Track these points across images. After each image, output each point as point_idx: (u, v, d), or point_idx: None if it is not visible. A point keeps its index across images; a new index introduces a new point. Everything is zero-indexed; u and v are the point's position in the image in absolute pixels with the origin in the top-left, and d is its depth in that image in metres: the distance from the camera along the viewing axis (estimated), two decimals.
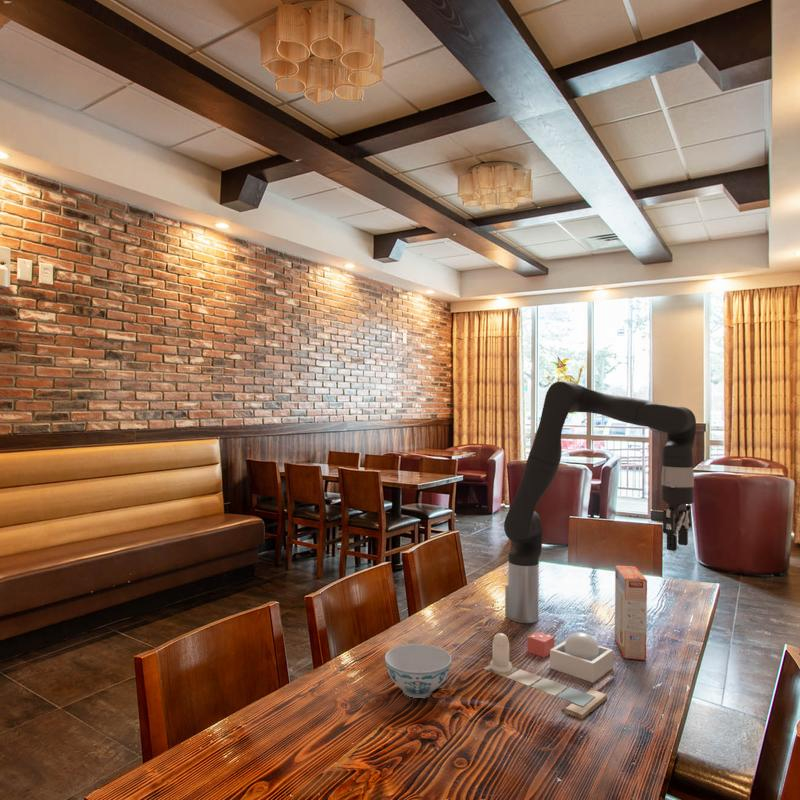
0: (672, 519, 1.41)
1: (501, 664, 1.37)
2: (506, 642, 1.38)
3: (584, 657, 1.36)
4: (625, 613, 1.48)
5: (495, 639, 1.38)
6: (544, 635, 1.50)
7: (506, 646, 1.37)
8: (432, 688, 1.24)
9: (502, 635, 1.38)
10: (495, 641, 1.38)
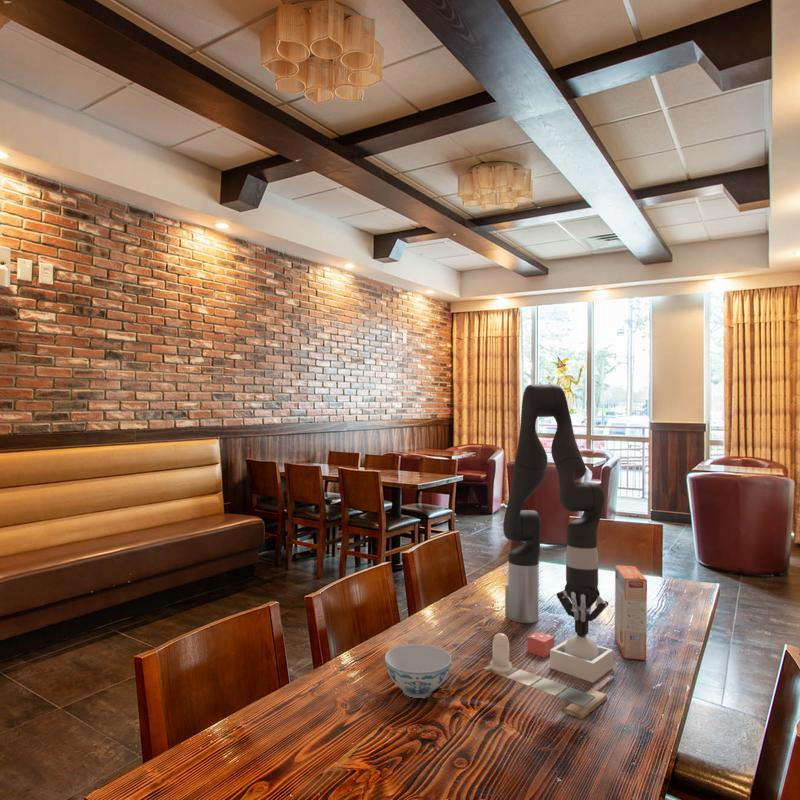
0: None
1: (501, 664, 1.37)
2: (506, 642, 1.38)
3: None
4: (625, 613, 1.48)
5: (495, 639, 1.38)
6: (544, 635, 1.50)
7: (506, 646, 1.37)
8: (432, 688, 1.24)
9: (502, 635, 1.38)
10: (495, 641, 1.38)
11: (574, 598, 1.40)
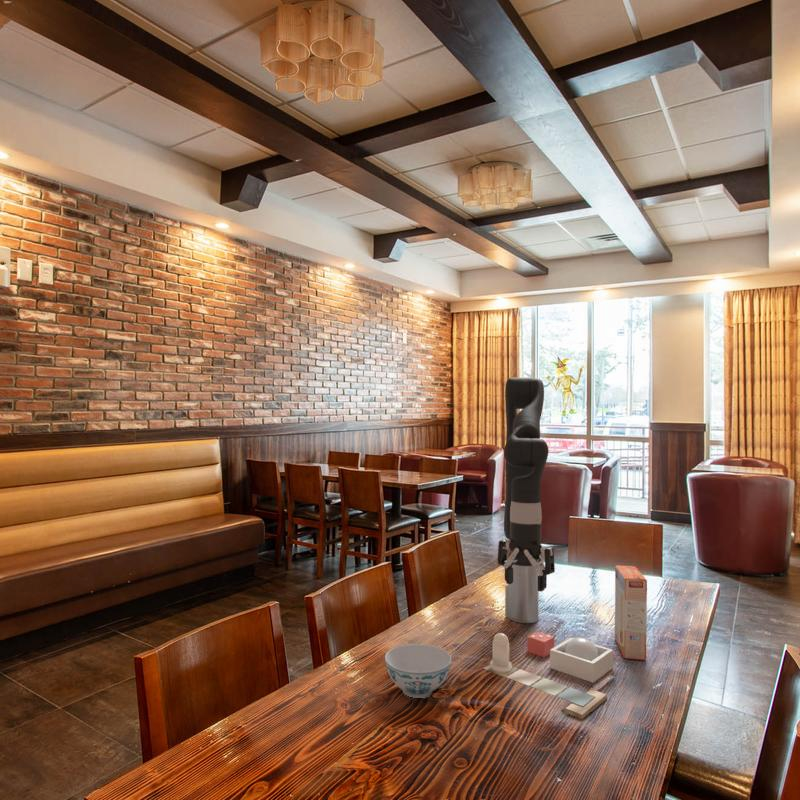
0: (553, 557, 1.36)
1: (501, 664, 1.37)
2: (506, 642, 1.38)
3: None
4: (625, 613, 1.48)
5: (495, 639, 1.38)
6: (544, 635, 1.50)
7: (506, 646, 1.37)
8: (432, 688, 1.24)
9: (502, 635, 1.38)
10: (495, 641, 1.38)
11: (515, 553, 1.39)
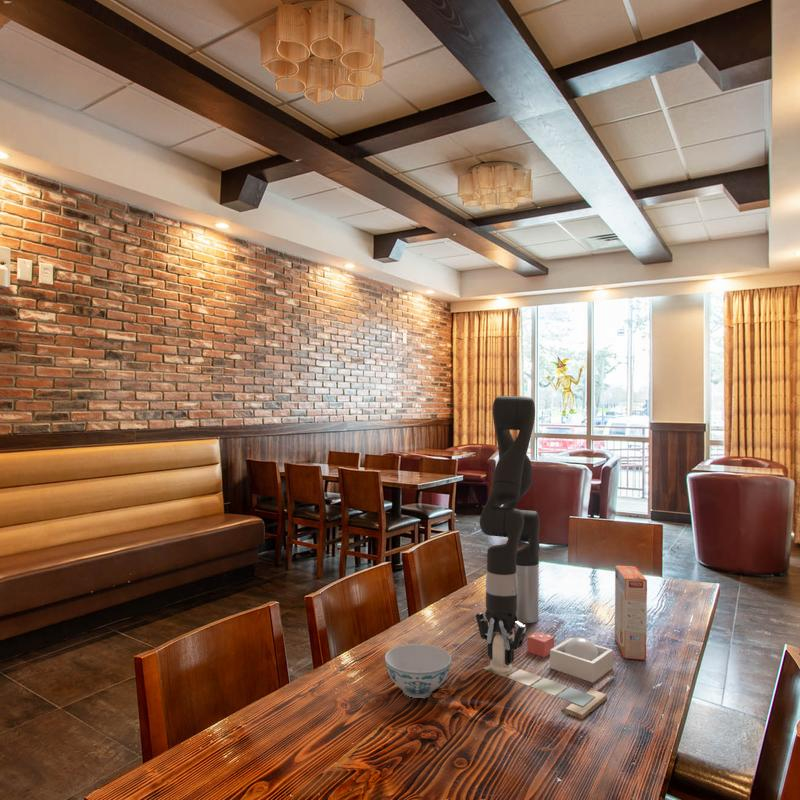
0: (524, 634, 1.36)
1: (501, 664, 1.37)
2: None
3: None
4: (625, 613, 1.48)
5: (495, 639, 1.38)
6: (544, 635, 1.50)
7: None
8: (432, 688, 1.24)
9: None
10: (495, 641, 1.38)
11: (492, 624, 1.39)
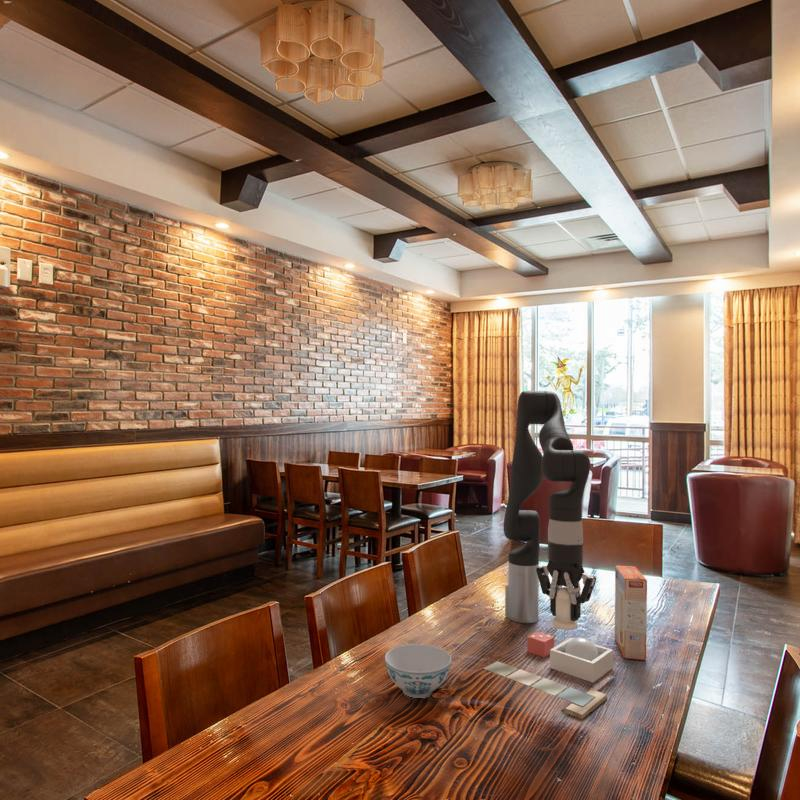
0: (593, 587, 1.24)
1: (566, 620, 1.25)
2: None
3: None
4: (625, 613, 1.48)
5: (559, 593, 1.26)
6: (544, 635, 1.50)
7: (571, 601, 1.25)
8: (432, 688, 1.24)
9: (566, 589, 1.26)
10: (559, 595, 1.26)
11: (555, 577, 1.27)
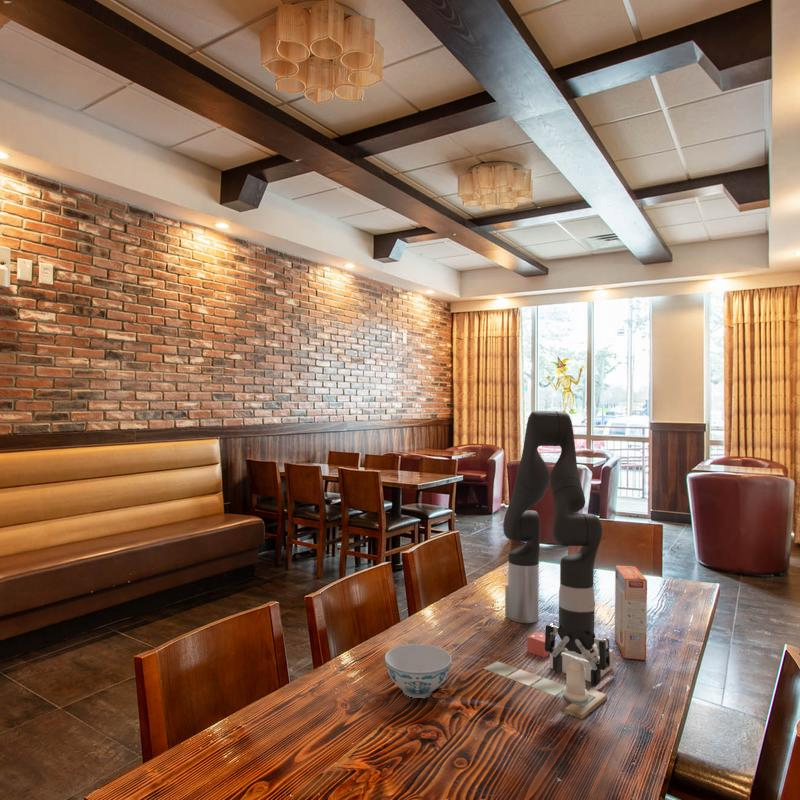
0: (608, 649, 1.22)
1: (577, 692, 1.23)
2: (582, 667, 1.24)
3: None
4: (625, 613, 1.48)
5: (570, 664, 1.25)
6: (544, 635, 1.50)
7: (582, 672, 1.24)
8: (432, 688, 1.24)
9: (577, 659, 1.25)
10: (570, 666, 1.25)
11: (565, 642, 1.25)
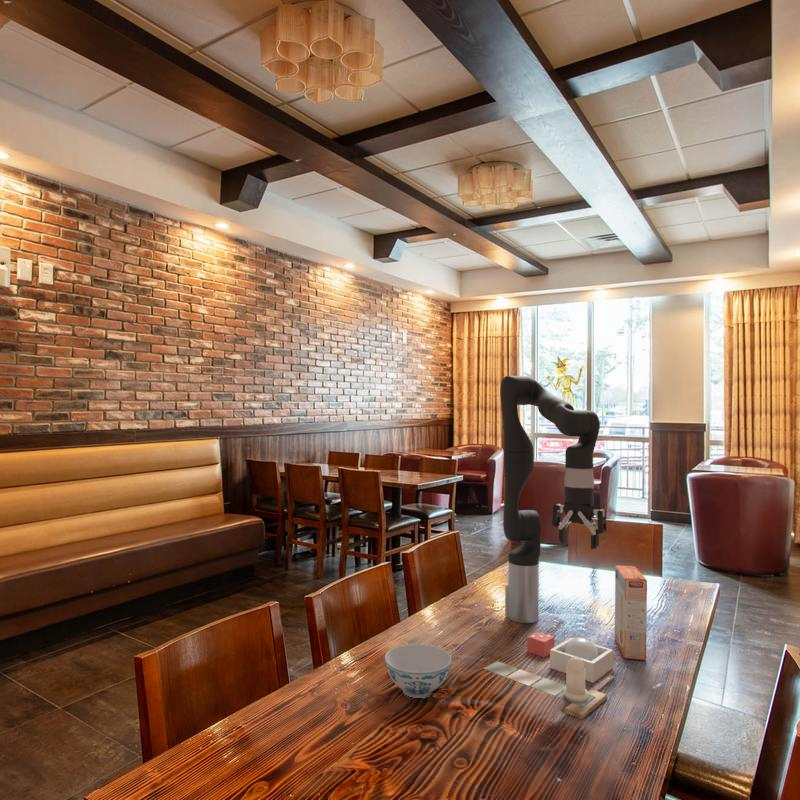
0: (605, 518, 1.49)
1: (577, 692, 1.23)
2: (582, 667, 1.24)
3: None
4: (625, 613, 1.48)
5: (570, 664, 1.25)
6: (544, 635, 1.50)
7: (583, 672, 1.24)
8: (432, 688, 1.24)
9: (578, 659, 1.25)
10: (570, 666, 1.25)
11: (569, 515, 1.52)
